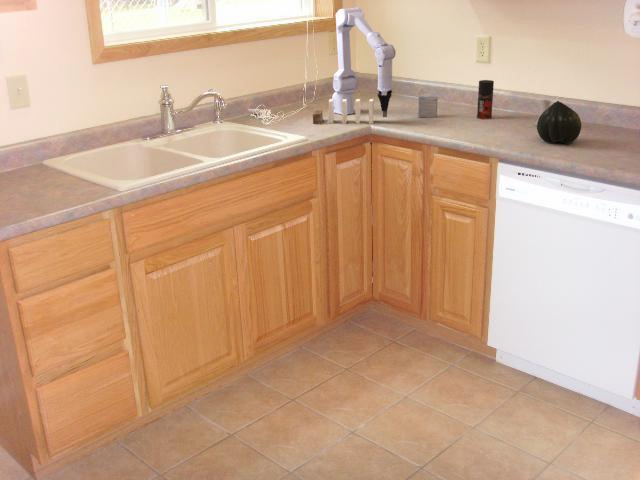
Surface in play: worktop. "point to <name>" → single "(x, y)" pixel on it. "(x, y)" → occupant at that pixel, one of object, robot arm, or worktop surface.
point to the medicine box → (427, 105)
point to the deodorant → (485, 99)
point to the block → (317, 117)
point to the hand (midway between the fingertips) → (384, 109)
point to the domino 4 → (371, 110)
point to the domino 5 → (384, 113)
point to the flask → (543, 108)
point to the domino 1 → (331, 110)
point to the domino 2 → (344, 110)
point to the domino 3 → (357, 110)
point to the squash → (559, 124)
